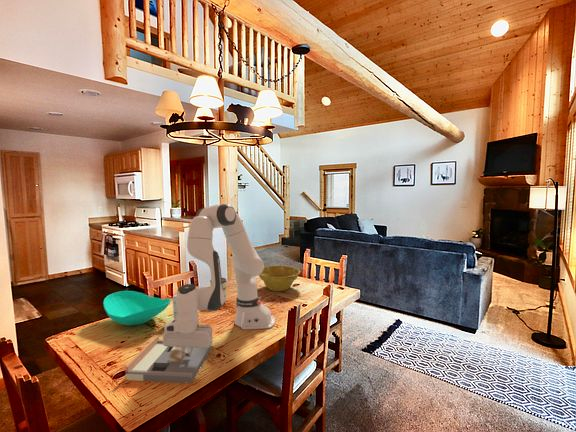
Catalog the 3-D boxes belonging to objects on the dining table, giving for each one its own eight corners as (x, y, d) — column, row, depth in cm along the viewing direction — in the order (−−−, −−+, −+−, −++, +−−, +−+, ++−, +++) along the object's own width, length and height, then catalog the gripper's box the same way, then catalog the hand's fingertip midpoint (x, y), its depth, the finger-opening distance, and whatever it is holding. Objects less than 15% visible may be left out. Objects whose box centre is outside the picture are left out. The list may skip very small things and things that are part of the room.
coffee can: (212, 297, 200) (212, 277, 199) (227, 297, 201) (227, 277, 199) (208, 303, 190) (208, 282, 189) (225, 303, 190) (224, 282, 189)
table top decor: (89, 325, 159) (88, 301, 158) (134, 306, 184) (133, 286, 183) (143, 341, 143) (142, 315, 142) (184, 318, 169) (183, 295, 167)
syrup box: (182, 322, 164) (182, 296, 163) (173, 321, 165) (172, 295, 164) (188, 317, 170) (187, 293, 168) (179, 316, 171) (178, 292, 169)
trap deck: (211, 349, 137) (211, 337, 136) (191, 383, 113) (191, 369, 113) (156, 346, 139) (156, 335, 138) (125, 379, 115) (125, 366, 114)
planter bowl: (280, 279, 243) (280, 262, 241) (309, 289, 219) (309, 271, 218) (247, 287, 221) (247, 270, 220) (275, 300, 197) (275, 280, 196)
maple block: (186, 355, 128) (185, 346, 127) (181, 361, 123) (181, 352, 122) (174, 354, 128) (174, 345, 127) (169, 361, 123) (169, 352, 122)
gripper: (214, 321, 126) (214, 352, 127) (167, 320, 127) (168, 350, 128) (209, 328, 120) (210, 361, 121) (160, 327, 121) (161, 359, 122)
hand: (188, 355), depth 125 cm, fingers closed
